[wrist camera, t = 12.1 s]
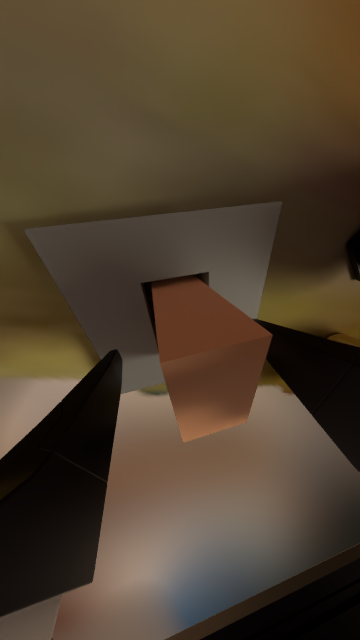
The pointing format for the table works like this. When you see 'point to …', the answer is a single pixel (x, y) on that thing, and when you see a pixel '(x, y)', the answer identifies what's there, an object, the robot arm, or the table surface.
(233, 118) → the table surface
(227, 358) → the keyed peg
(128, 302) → the socket block
